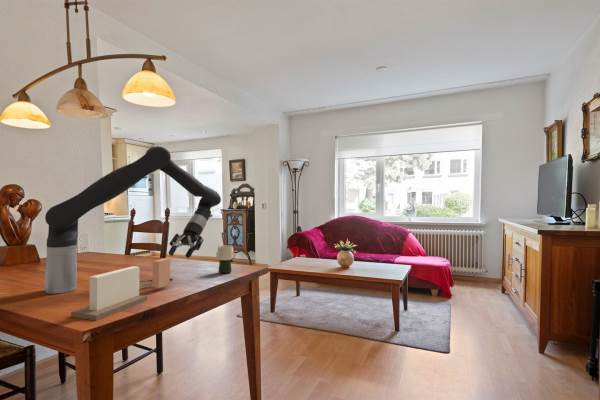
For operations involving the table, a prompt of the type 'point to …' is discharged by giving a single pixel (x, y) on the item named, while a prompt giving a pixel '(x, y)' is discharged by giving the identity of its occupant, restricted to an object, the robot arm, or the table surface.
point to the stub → (161, 273)
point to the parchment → (146, 283)
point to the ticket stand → (111, 294)
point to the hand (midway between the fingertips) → (178, 256)
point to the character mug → (225, 258)
